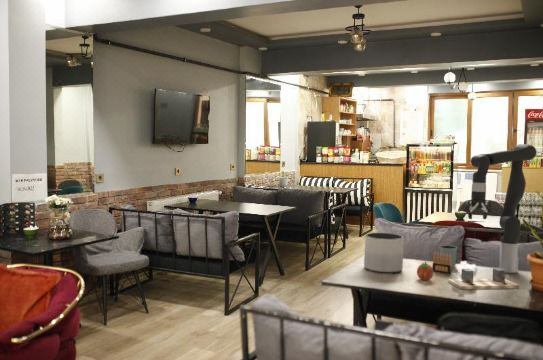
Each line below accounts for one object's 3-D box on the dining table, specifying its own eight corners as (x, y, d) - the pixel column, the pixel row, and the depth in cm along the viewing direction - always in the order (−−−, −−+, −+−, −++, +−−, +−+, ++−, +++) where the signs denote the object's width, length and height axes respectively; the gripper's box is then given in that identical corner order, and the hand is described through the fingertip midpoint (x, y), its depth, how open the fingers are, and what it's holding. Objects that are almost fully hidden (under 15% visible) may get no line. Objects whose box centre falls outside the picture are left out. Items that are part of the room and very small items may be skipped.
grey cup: (457, 265, 321) (457, 246, 320) (455, 268, 311) (456, 249, 311) (439, 263, 325) (440, 244, 324) (437, 266, 316) (438, 247, 315)
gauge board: (503, 280, 286) (504, 266, 285) (518, 288, 272) (519, 273, 271) (448, 282, 281) (448, 267, 281) (461, 289, 267) (461, 274, 267)
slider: (468, 279, 280) (468, 268, 280) (476, 283, 272) (476, 272, 272) (461, 279, 279) (461, 268, 279) (468, 283, 271) (469, 272, 271)
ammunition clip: (451, 273, 300) (452, 253, 299) (450, 274, 298) (451, 253, 297) (432, 270, 306) (433, 250, 305) (431, 271, 304) (432, 251, 303)
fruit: (434, 278, 287) (434, 261, 287) (431, 283, 279) (432, 264, 278) (418, 276, 291) (418, 259, 290) (415, 281, 282) (416, 262, 281)
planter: (409, 269, 307) (410, 236, 306) (390, 276, 291) (392, 240, 289) (376, 263, 322) (377, 231, 320) (356, 269, 305) (357, 235, 304)
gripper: (486, 190, 299) (485, 218, 301) (463, 189, 297) (462, 218, 299) (494, 191, 292) (492, 220, 293) (470, 191, 290) (468, 220, 291)
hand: (477, 219), depth 296 cm, fingers open, 8 cm apart
